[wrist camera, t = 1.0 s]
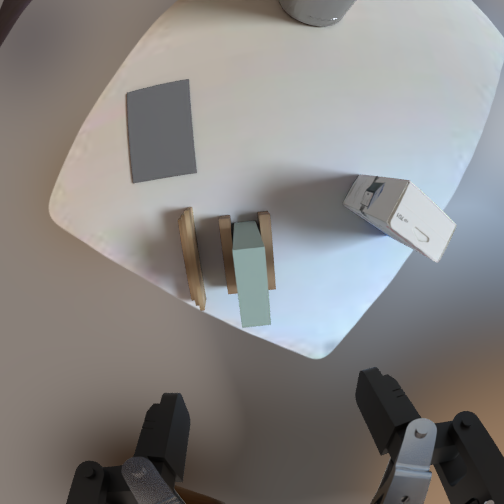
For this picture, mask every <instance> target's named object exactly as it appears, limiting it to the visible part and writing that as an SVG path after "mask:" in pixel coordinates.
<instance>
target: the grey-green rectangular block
mask: <svg viewBox="0 0 504 504" xmlns="http://www.w3.org/2000/svg"><path fill="white" fill-rule="evenodd" d="M232 251H233V259H234V267H235V275H236V283H237V291H238V299H239V307H240V315H241V322H242V328H245V327H254V326H263V325H271V318H270V305H269V292H268V280H267V268H266V256H265V246H264V243H263V241H262V238H261V235H260V233H259V230H258V227H257V225H256V222H255V221H247V222H238V223H234V233H233V249H232Z"/></svg>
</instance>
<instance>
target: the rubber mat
mask: <svg viewBox="0 0 504 504" xmlns="http://www.w3.org/2000/svg"><path fill="white" fill-rule="evenodd" d="M127 108H128V130H129V144H130V156H131V166H132V175H133V183H138V182H143V181H148V180H154V179H160V178H166V177H172V176H178V175H185V174H192V173H197V170H196V161H195V151H194V140H193V129H192V117H191V104H190V90H189V79H186V80H180V81H175V82H170V83H165V84H160V85H156V86H152V87H147V88H143V89H139V90H136V91H132V92H128V93H127Z"/></svg>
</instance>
